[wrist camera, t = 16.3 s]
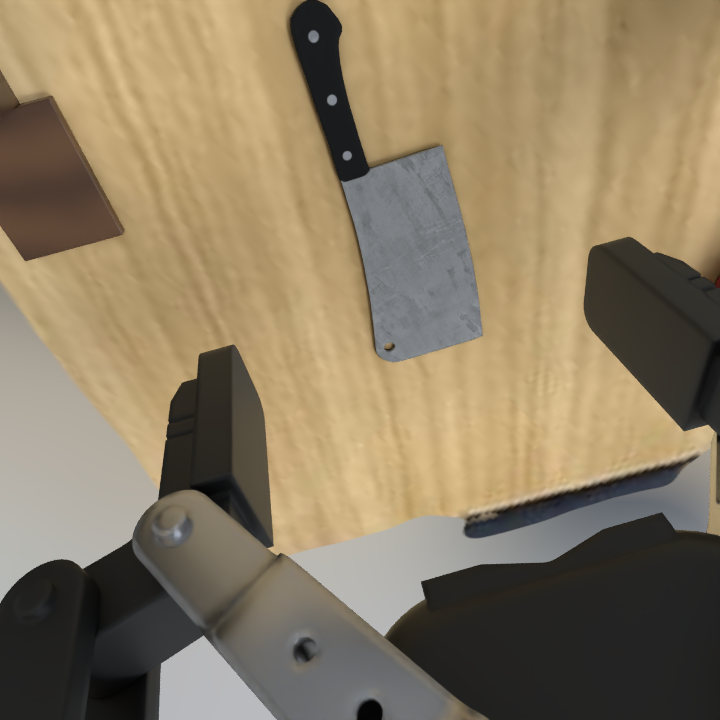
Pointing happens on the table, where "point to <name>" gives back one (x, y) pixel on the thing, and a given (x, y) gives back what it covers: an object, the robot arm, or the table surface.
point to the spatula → (47, 181)
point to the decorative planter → (718, 283)
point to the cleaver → (394, 214)
